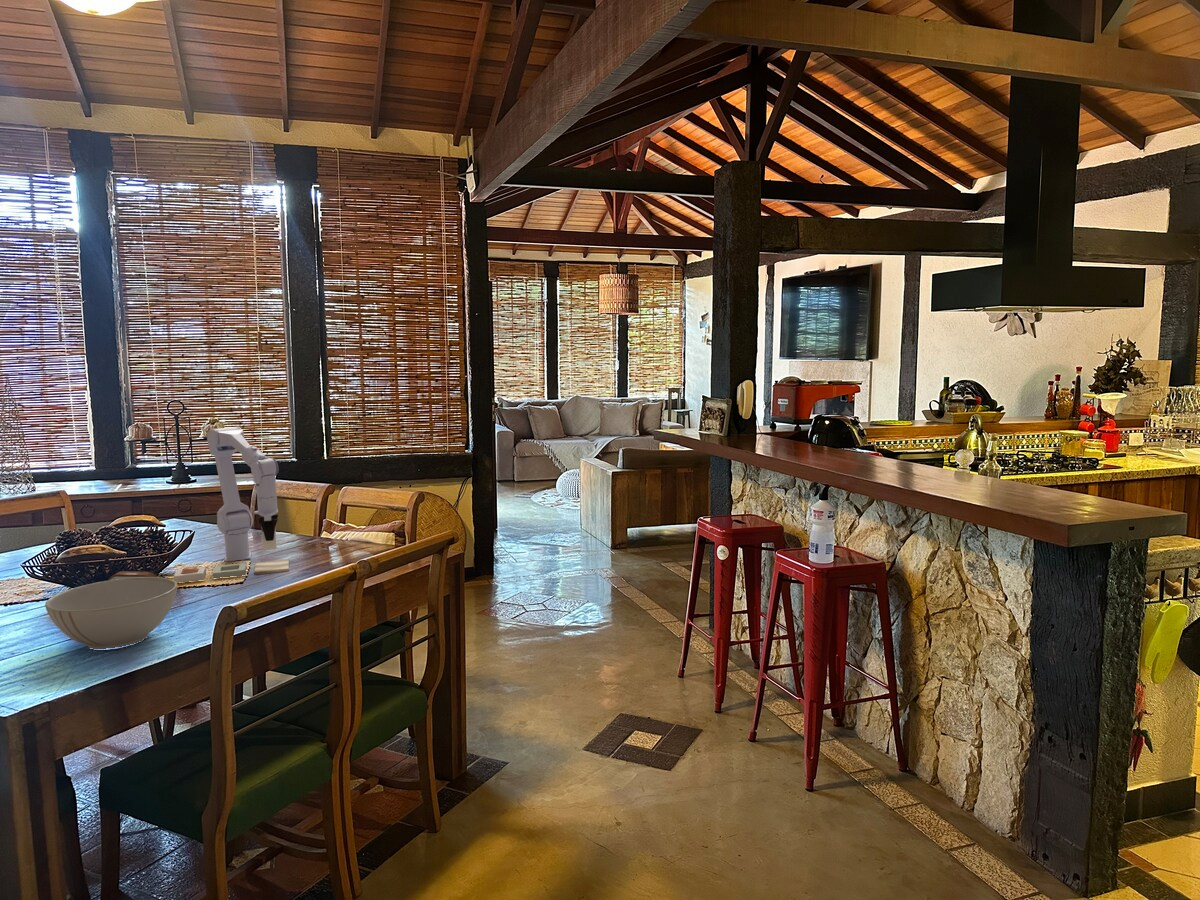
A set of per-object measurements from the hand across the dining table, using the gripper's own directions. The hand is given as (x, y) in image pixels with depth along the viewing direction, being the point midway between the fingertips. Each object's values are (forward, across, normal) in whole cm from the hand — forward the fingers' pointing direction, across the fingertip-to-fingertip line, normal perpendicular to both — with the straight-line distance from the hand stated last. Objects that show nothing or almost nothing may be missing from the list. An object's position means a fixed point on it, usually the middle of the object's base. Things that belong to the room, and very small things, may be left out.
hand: (270, 538), depth 252 cm
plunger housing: (+10, +3, -23) cm, 25 cm away
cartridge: (+3, 0, 0) cm, 3 cm away
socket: (+10, +2, -12) cm, 15 cm away
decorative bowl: (+10, +56, -33) cm, 66 cm away
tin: (+10, +21, -35) cm, 42 cm away
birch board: (+10, 0, 0) cm, 10 cm away
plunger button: (+9, +3, -23) cm, 25 cm away
